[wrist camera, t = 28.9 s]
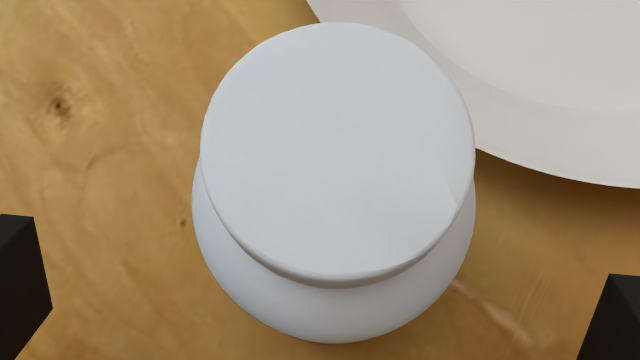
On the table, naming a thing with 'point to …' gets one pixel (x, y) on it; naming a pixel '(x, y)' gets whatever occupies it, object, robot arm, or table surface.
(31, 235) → the robot arm
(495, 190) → the table surface
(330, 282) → the pill bottle
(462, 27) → the white plate
